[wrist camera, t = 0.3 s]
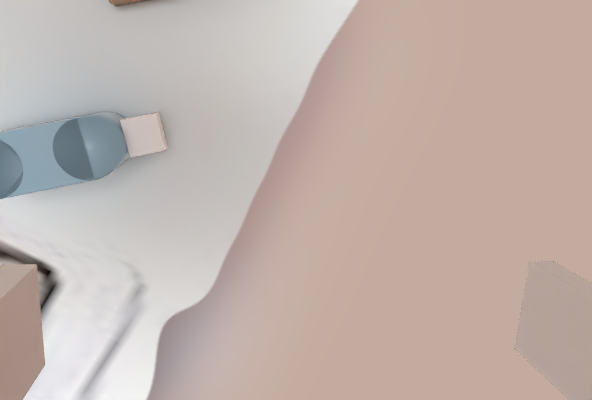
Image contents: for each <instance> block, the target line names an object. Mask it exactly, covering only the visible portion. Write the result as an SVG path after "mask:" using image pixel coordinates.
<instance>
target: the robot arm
mask: <svg viewBox="0 0 592 400" xmlns="http://www.w3.org/2000/svg"><path fill="white" fill-rule="evenodd" d="M515 350H516V351H518V353H520V354H521V355H522V356H523V357H524V358H525V359H526V360H527V361H528V362H529V363H530V364H531V365H533V367H535V368H536V369H537V370H538V371H539V372H540V373H541V374H542V375H543V376H544V377H545V378H546V379H548V380H549V381H550V382H551V383H552V384H553V385H554V386H555V387H556V388H557V389H558V390H559V391H561V393H563V394H564V395H565V396H566V397H567V398H568V399H569V400H592V282H590V281H588V280H587V279H585V278H583V277H581V276H579V275H578V274H576V273H574V272H572V271H570V270H568V269H567V268H565V267H563V266H561V265H559V264H558V263H556V262H554V261H550V262H549V261H544V262H543V261H541V262H529V266H528V272H527V278H526V284H525V289H524V296H523V301H522V307H521V313H520V319H519V326H518V332H517V337H516V343H515ZM44 366H45V358H44V346H43V334H42V322H41V310H40V298H39V285H38V273H37V264H20V265H2V266H1V267H0V400H23V398H24V397H25V395H26V393H27V392H28V390H29V389H30V387H31V386H32V384H33V383H34V381H35V380H36V378H37V376H38V375H39V373H40V372H41V370H42V369H43V367H44Z"/></svg>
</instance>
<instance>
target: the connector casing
mask: <svg viewBox="0 0 592 400" xmlns="http://www.w3.org/2000/svg"><path fill="white" fill-rule="evenodd" d="M167 148H168V147H167V143H166V139H165V135H164V131H163V127H162V123H161V119H160V115H159V112H156V113H151V114H146V115H140V116H135V117H130V118H124V117H123V116H121V115H119V114H116V113H113V112H100V113H94V114H89V115H84V116H79V117H73V118H68V119H63V120H58V121H52V122H47V123H42V124H37V125H31V126H26V127H21V128H16V129H12V130H7V131H3V132H0V199H3V198H8V197H13V196H18V195H23V194H27V193H32V192H37V191H42V190H47V189H52V188H57V187H62V186H67V185H72V184H77V183H82V182H87V181H92V180H96V179H100V178H102V177H104V176H106V175H107V174H109V173H110V172H111V171H113V170H114V169H115V168H116V167H118V166H119V165H120V164H122V163H123V162H124V161H125V160H127V159H128V158H129V157H130V158H132V157H137V156H142V155H147V154H152V153H157V152H162V151H165V150H166V149H167Z"/></svg>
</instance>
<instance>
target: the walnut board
mask: <svg viewBox="0 0 592 400" xmlns="http://www.w3.org/2000/svg"><path fill="white" fill-rule="evenodd" d="M141 1H147V0H109V2H111V3H112V4H114V5H115V6H118V5H123V4H129V3H135V2H141Z"/></svg>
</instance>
